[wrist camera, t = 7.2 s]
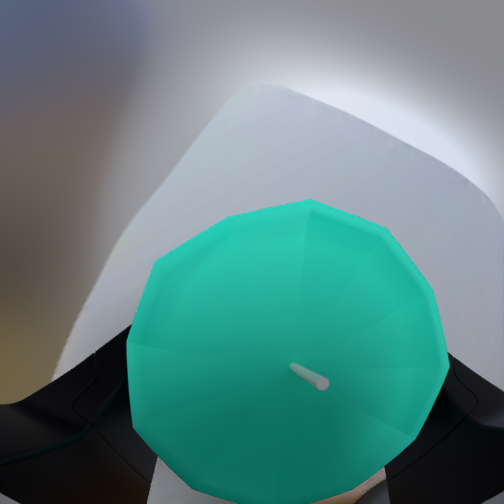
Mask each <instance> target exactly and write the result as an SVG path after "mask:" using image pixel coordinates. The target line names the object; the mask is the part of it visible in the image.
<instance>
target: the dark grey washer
mask: <svg viewBox="0 0 504 504" xmlns="http://www.w3.org/2000/svg"><path fill="white" fill-rule="evenodd" d="M356 504H390V501H389V494H388V487H387V479H386V480H384V481H382V482H381V483H379V484H378V485H376V486H375V487H373V488H372V489H371V490H369V491H368V492H367V493H366V494H365V495H363V496H362V497H361V498H360V499H359V500H358V501H357V502H356Z"/></svg>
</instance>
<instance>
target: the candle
mask: <svg viewBox="0 0 504 504" xmlns="http://www.w3.org/2000/svg"><path fill="white" fill-rule="evenodd" d="M126 344H127V369H128V384H129V396H130V407H131V416H132V424H133V428H134V429H135V431H136V432H137V433H138V434H139V435H140V437H141V438H142V439H143V440H144V441H145V442H146V443H147V444H148V446H149V447H150V448H151V449H152V450H153V451H154V452H155V453H156V454H157V455H158V456H159V457H160V458H161V460H162V461H163V462H164V463H165V464H166V465H167V466H168V467H169V468H170V469H171V470H172V471H173V472H174V473H175V474H177V475H178V476H179V477H180V478H181V479H182V480H183V481H184V482H185V483H186V484H187V485H188V486H190V487H191V488H192V489H194V490H197V491H199V492H202V493H205V494H208V495H211V496H214V497H217V498H221V499H224V500H227V501H231V502H234V503H238V504H309V503H313V502H316V501H320V500H323V499H326V498H330V497H333V496H336V495H339V494H342V493H345V492H347V491H350V490H352V489H354V488H355V487H357V486H358V485H360V484H361V483H363V482H364V481H365V480H367V479H368V478H370V477H371V476H372V475H374V474H375V473H376V472H378V471H379V470H380V469H381V468H383V467H384V466H385V465H386V464H388V463H389V462H390V461H391V460H393V459H394V458H395V457H396V456H397V455H398V454H400V453H401V452H402V451H403V450H404V449H405V448H406V447H407V446H409V445H410V444H411V443H412V442H413V441H414V440H415V439H416V437H417V435H418V434H419V432H420V430H421V428H422V426H423V424H424V422H425V421H426V419H427V417H428V415H429V413H430V411H431V409H432V407H433V404H434V402H435V400H436V398H437V396H438V394H439V391H440V389H441V387H442V384H443V382H444V380H445V377H446V375H447V372H448V370H449V367H450V365H449V359H448V353H447V347H446V342H445V337H444V332H443V328H442V323H441V319H440V315H439V311H438V307H437V303H436V299H435V295H434V292H433V289H432V288H431V286H430V285H429V284H428V282H427V281H426V279H425V278H424V276H423V275H422V274H421V272H420V271H419V270H418V268H417V267H416V265H415V264H414V263H413V261H412V260H411V259H410V257H409V256H408V255H407V253H406V252H405V251H404V250H403V248H402V247H401V246H400V244H399V243H398V242H397V241H396V239H395V238H394V237H393V236H392V234H391V233H390V232H389V231H388V229H387V228H385V227H382V226H380V225H378V224H375V223H373V222H370V221H367V220H365V219H362V218H360V217H357V216H355V215H352V214H349V213H347V212H344V211H341V210H339V209H336V208H333V207H331V206H328V205H325V204H322V203H320V202H317V201H314V200H311V199H309V200H304V201H299V202H294V203H289V204H285V205H280V206H275V207H271V208H266V209H261V210H257V211H252V212H248V213H243V214H239V215H235V216H230V217H227V218H225V219H223V220H222V221H220V222H218V223H217V224H215V225H213V226H212V227H210V228H208V229H207V230H205V231H203V232H202V233H200V234H198V235H197V236H195V237H193V238H192V239H190V240H188V241H187V242H185V243H183V244H182V245H180V246H179V247H177V248H175V249H174V250H172V251H171V252H169V253H167V254H166V255H164V256H163V257H161V258H159V259H158V260H156V261H155V263H154V265H153V268H152V270H151V273H150V276H149V278H148V281H147V284H146V286H145V289H144V292H143V294H142V297H141V300H140V303H139V306H138V309H137V311H136V314H135V317H134V320H133V323H132V326H131V329H130V332H129V335H128V339H127V342H126Z"/></svg>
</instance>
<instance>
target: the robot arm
mask: <svg viewBox="0 0 504 504" xmlns="http://www.w3.org/2000/svg"><path fill="white" fill-rule="evenodd" d="M131 326H132V324H131V325H130V326H129V327H127V328H126V329H125V330H123V331H122V332H121V333H119V334H118V335H117V336H115V337H114V338H113V339H111V340H110V341H109V342H107V343H106V344H105V345H103V346H102V347H101V348H99V349H98V350H97V351H96V352H95V353H93V354H91V355H90V356H89V357H88V358H86V359H85V360H84V361H82V362H81V363H79V364H78V365H77V366H75V367H74V368H73V369H71V370H70V371H68V372H67V373H65V374H64V375H62V376H61V377H59V378H57V379H56V380H54V381H53V382H51V383H49V384H48V385H46V386H45V387H43V388H41V389H40V390H39V391H37V392H35V393H33V394H32V395H30V396H28V397H27V398H25V399H23V400H21V401H18V402H16V403H12V404H0V504H147V500H148V495H149V491H150V487H151V485H150V484H151V482H152V478H153V474H154V470H155V465H156V461H157V457H158V455H157V454H156V453H155V452H154V451H153V450H152V449H151V448H150V447H149V446H148V444H147V443H146V442H145V441H144V440H143V439H142V438H141V437H140V435H139V434H138V433H137V432H136V431H135V429H134V428H133V424H132V416H131V407H130V396H129V384H128V369H127V344H126V342H127V339H128V335H129V332H130V329H131ZM447 353H448V352H447ZM448 359H449V365H450V367H449V370H448V372H447V375H446V377H445V380H444V382H443V384H442V387H441V389H440V391H439V394H438V396H437V398H436V400H435V402H434V404H433V407H432V409H431V411H430V413H429V415H428V417H427V419H426V421H425V422H424V424H423V426H422V428H421V430H420V432H419V434H418V435H417V437H416V439H415V440H414V441H413V442H412V443H411V444H410V445H409V446H407V447H406V448H405V449H404V450H403V451H402V452H401V453H400V454H398V455H397V456H396V457H395V458H394V459H393V460H391V461H390V462H389V463H388V464H386V465H385V466H384V467H385V473H386V479H387V487H388V494H389V501H390V504H504V391H502V390H501V389H499V388H498V387H496V386H495V385H493V384H491V383H490V382H488V381H487V380H485V379H484V378H482V377H481V376H479V375H478V374H477V373H475V372H474V371H472V370H471V369H470V368H468V367H467V366H465V365H464V364H463V363H461V362H460V361H459V360H458V359H456V358H455V357H454V358H453V356H452V355H451V354H450V353H448Z"/></svg>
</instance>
